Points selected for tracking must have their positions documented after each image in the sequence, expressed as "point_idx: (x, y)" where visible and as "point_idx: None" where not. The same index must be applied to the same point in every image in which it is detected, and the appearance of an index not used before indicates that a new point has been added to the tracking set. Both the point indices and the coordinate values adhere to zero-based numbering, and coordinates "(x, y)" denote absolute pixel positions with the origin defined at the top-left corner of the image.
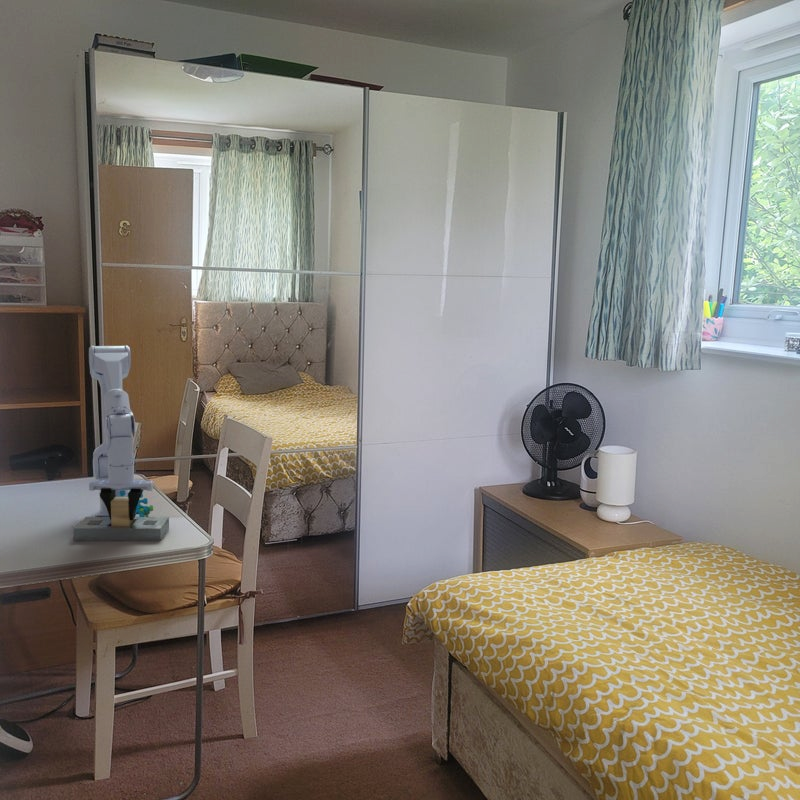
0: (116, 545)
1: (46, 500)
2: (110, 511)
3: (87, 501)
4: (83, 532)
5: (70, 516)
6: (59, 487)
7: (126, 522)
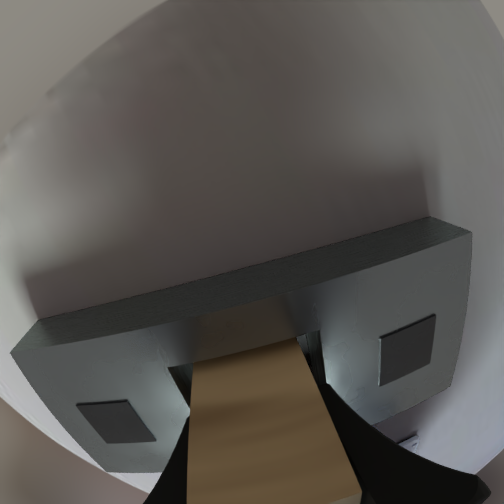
0: (185, 200)
1: (498, 427)
2: (340, 423)
3: None
4: (419, 238)
5: (469, 403)
6: (477, 464)
7: (203, 386)
